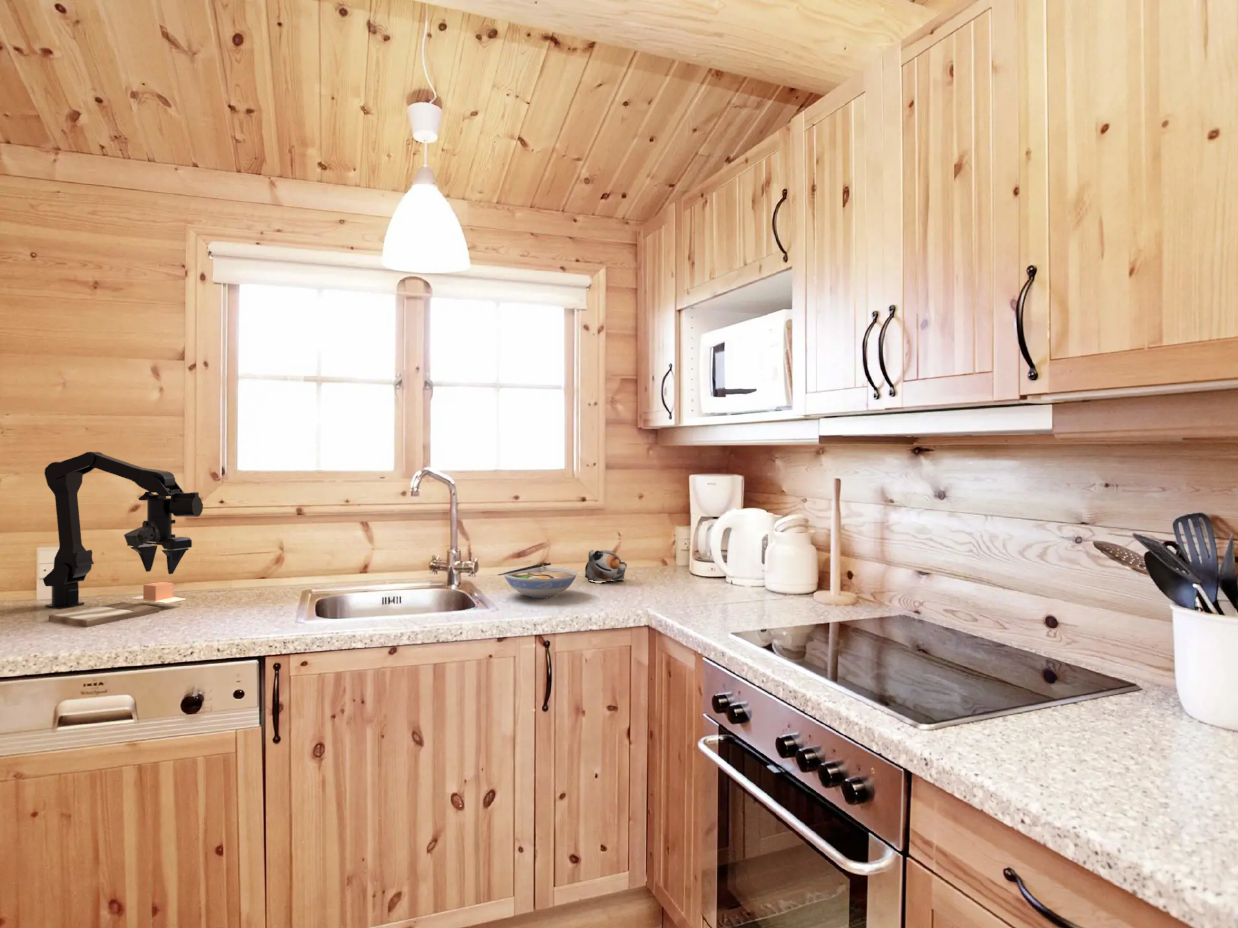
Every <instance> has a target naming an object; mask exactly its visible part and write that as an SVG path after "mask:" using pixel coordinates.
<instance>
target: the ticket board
mask: <svg viewBox="0 0 1238 928" xmlns="http://www.w3.org/2000/svg"><path fill="white" fill-rule="evenodd" d="M159 612H160V606H151V605H147V604H146V605H145V604H138V603H130V602H124V601H122V602H121V601H120V602H115V603H110V604H105V605H104V604H103V605H96V606H92V607H91V606H90V607H88V608H87V607H86V608H80V609H75V610H70V611H65V612H59V613H58V612H57V613H52V614H50V615H48V621H49V622H53V623H61V624H65V625H66V624H67V625H73V626H78V627H84V628H88V627H93V626H98V625H104V624H107V623H112V622H113V623H114V622H120V621H122V620H123V621H124V620H127V619H132V618H136V617H143V616H146V615H147V616H149V615H153V614H156V613H159Z"/></svg>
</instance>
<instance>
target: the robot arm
mask: <svg viewBox="0 0 1238 928" xmlns="http://www.w3.org/2000/svg"><path fill="white" fill-rule="evenodd" d="M95 469H96V470H100V471H103V472H106V473H109V474H112V475H115V476H118V477H121V478H123V479H126V480H129V481H130V482H131V481H132V482H133V483H135V485H137V486H138V487H140V488H142V489H143V490H146V491H145V492H144V493H143V494H142V495H141V496H139V497H138V501H146V502H147V504H146V507H147V508H146V509H147V511H146V512H147V513H146V516H147V517H146V519H145V520H143V522H142V523H141V524H142V526H141V527H138V528H136V529H133V530H130V531H128V532H126V533H124V534H123V537H124V539H125V542H126V546H127V547H130V549H131V550H133V551H135V552H137V553H138V555H139V557H140V560H141V562H142V565H143V567H144V570H145V572H147V573H148V572H151V571H152V569H153V565H154V562H155V557H156V554H157V550H158V546H161V547H162V548H163V549H161V552H162V553H163V554H164V555H165V556H166V566H167V568H166V569H167V573H168V575H173V574H174V572H175V571H176V569H177V567H178V565H179V564H180V562H181V560H182V558H183V557H184V555H185V553H186V552H187V551H189V548H192V547H193V540H192V539H191V537H188V536H176V534H175V533H173V532H172V531H173V527H172V525H173V524H176V519H173V517H172V516H174V517H176V518H177V517H180V518H181V517H183V518H184V517H185V518H187V517H188V518H189V517H190V518H193V517H200V516H201V515H202V513H203V508H204V503H203V501H202V499H201V497H200V496H199V493H200V492H198V491H196V492H195V491H193V492H192V491H191V492H184V490H183V489H182V488H181V487H180V485H179V484H178V483H177V481H176V478H175V475H174V474H173V473H172V472H171V471H167V470H161V469H153V468H146V467H141V466H139V465H136V464H133V463H130V462H127V461H123V460H121V459H118V458H115V457H112V456H110V455H106V454H104V453H103V452H100V451H86V452H84V453H82V454H80V455H77V456H74V457H71V458H68V459H65V460H62V461H54V462H51V463H49V464H48V465H47V466H46V467H45V468H44V478H45V480H46V483H47V487H48V488H49V489H50V490H51V492H52V493H53V494H54V500H55V511H56V521H57V522H56V523H57V531H58V545H59V548H58V550H57V552H56V554H55V556H54V558H53V559H54V560H53V569H52V570H51V571H50V572H48V574H47V575H46V576H44V577H43V579H42V580H43V583H44V586H45V587H51V603H49V604H45V606H44V607H46V608H52V609H58V610H59V609H64V608H65V609H67V608H70V607H76V606H77V607H78V606H82V605H85V602H82V601H80V600H79V599H80V596H79V595H80V592H79V591H80V589H79V585H80V584H79V582H85V579H86V577H87V574H88V573H90V571H91V570H92V565H94V564H95V562H94V561H93V550H92V549H89V550H87V549H86V548H85V547H84V546H83V542H82V532H81V531H82V530H81V520H80V511H79V500H78V493H79V490H80V489H81V486H82V484H83V476H84V475H86V474H88V473H90V472H92V471H93V470H95ZM172 533H173V534H172Z"/></svg>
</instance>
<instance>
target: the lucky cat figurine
mask: <svg viewBox="0 0 1238 928" xmlns="http://www.w3.org/2000/svg"><path fill="white" fill-rule="evenodd" d="M587 556H588V557H587V558H588V561H587V563H586V564H585V568H584V572H585V573H584V578H586V579H587V581H588V580H593V581H611V580H623V579H624V580H625V572H626V569H627V567H628V563H626V562H625V561H622V559H621V558H620V556H619V555H618V554H616V553H615V552H614V551H611V550H603V549H602V550H595V551H594V549H591V550H590V551H588V555H587Z"/></svg>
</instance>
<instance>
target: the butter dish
mask: <svg viewBox="0 0 1238 928" xmlns="http://www.w3.org/2000/svg"><path fill="white" fill-rule="evenodd" d="M142 587H143V593H142V594H143V595H140V596H135V597H131V598H130V599H131V600H137V601H145V602H150V603H151V602H152V603H158V604H169V603H173V602H174V603H175V602H180V601H184V600H187V598H182V597H176V596H174V583H172V582H165V581H159V582H153V583H147V584H143V586H142Z"/></svg>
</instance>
